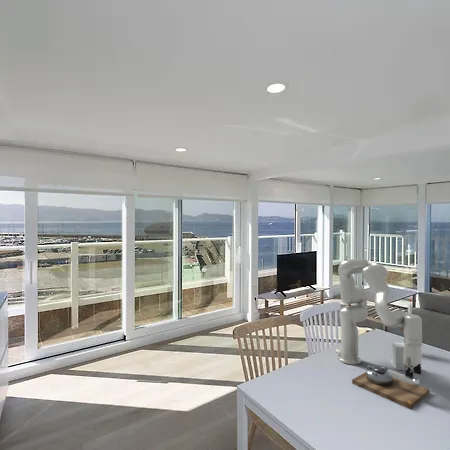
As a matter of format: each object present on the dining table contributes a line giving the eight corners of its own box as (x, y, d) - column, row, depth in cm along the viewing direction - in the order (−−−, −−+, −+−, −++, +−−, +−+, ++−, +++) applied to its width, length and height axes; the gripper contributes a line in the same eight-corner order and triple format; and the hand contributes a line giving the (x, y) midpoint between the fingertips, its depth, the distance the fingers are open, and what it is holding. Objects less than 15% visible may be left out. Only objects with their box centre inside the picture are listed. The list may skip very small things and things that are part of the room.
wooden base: (352, 383, 153) (352, 379, 153) (373, 371, 166) (373, 367, 166) (410, 409, 132) (410, 404, 132) (429, 393, 144) (429, 388, 144)
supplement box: (410, 371, 167) (410, 348, 167) (395, 369, 168) (395, 346, 168) (405, 365, 174) (405, 342, 174) (391, 363, 176) (391, 341, 176)
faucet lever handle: (361, 378, 154) (361, 365, 154) (373, 371, 161) (373, 359, 161) (414, 399, 135) (414, 384, 135) (424, 390, 143) (424, 376, 143)
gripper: (411, 334, 156) (412, 368, 156) (396, 342, 145) (397, 378, 145) (428, 339, 150) (428, 374, 150) (414, 347, 139) (414, 385, 139)
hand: (413, 376), depth 147 cm, fingers open, 9 cm apart
